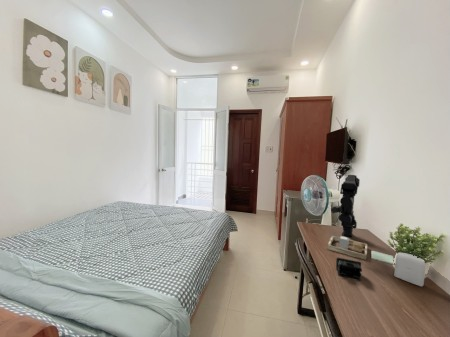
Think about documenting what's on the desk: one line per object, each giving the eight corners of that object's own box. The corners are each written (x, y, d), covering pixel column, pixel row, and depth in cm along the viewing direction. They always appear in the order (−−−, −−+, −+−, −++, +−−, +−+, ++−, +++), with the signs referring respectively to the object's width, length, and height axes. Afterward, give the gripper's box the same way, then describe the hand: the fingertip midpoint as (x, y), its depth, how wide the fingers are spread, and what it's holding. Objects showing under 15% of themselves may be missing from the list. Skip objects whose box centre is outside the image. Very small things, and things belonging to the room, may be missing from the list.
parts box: (339, 245, 129) (340, 235, 129) (348, 247, 127) (348, 237, 126) (338, 247, 126) (339, 238, 125) (347, 250, 123) (348, 240, 122)
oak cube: (352, 247, 126) (353, 241, 126) (360, 249, 125) (361, 243, 124) (353, 250, 123) (354, 244, 122) (361, 252, 121) (362, 245, 121)
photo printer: (392, 276, 98) (395, 251, 97) (395, 273, 101) (397, 249, 99) (422, 288, 90) (425, 261, 89) (424, 284, 93) (427, 258, 92)
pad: (371, 251, 122) (371, 250, 122) (393, 257, 116) (393, 256, 116) (371, 258, 114) (371, 257, 114) (394, 264, 108) (394, 263, 108)
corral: (331, 239, 138) (332, 235, 137) (367, 248, 126) (367, 244, 126) (327, 249, 124) (327, 245, 123) (366, 260, 112) (366, 255, 112)
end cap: (358, 272, 100) (359, 259, 100) (362, 281, 94) (363, 267, 93) (335, 267, 104) (336, 255, 103) (337, 275, 98) (338, 262, 97)
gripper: (334, 198, 136) (332, 221, 137) (329, 203, 121) (327, 229, 122) (354, 201, 129) (352, 225, 131) (352, 207, 114) (349, 234, 116)
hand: (345, 228), depth 125 cm, fingers open, 9 cm apart
